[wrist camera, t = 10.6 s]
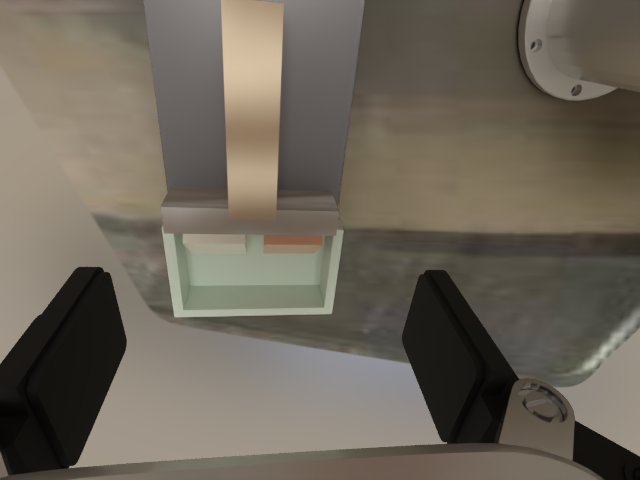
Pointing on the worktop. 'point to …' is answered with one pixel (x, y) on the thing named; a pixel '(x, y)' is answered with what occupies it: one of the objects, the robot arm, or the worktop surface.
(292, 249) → the tile terracotta
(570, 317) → the worktop surface
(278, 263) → the grey platform with tray
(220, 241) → the tile cream
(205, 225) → the scraper
